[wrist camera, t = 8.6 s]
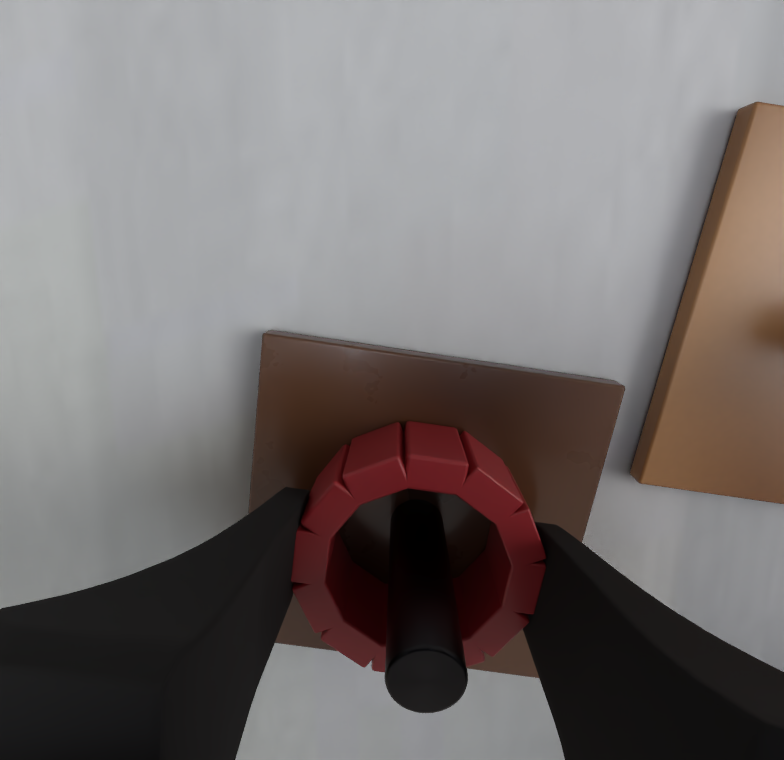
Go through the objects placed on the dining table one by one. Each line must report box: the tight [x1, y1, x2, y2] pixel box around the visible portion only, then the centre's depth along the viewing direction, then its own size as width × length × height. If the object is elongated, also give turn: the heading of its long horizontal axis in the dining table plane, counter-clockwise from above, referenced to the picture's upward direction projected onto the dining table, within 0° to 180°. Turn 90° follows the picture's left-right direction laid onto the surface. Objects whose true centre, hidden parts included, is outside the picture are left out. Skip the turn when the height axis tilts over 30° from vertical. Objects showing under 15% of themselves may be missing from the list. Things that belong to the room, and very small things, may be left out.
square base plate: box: [248, 330, 625, 713], centre depth 11 cm, size 9×9×6 cm
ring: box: [291, 421, 546, 672], centre depth 12 cm, size 6×6×2 cm
